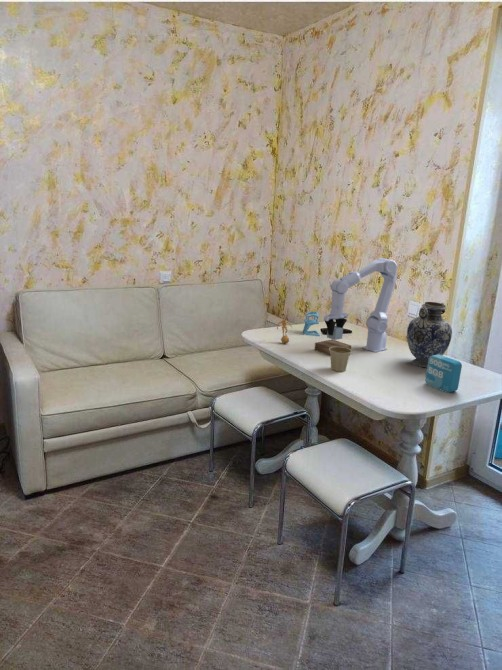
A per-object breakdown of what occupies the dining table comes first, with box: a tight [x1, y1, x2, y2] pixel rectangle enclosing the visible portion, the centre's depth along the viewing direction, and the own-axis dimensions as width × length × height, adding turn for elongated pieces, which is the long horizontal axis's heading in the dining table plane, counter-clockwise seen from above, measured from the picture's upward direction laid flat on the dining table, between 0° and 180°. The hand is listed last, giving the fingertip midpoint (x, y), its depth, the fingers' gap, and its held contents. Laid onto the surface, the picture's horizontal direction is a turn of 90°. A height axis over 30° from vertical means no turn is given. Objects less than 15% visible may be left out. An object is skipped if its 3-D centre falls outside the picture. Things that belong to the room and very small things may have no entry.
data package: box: [425, 355, 463, 393], centre depth 186 cm, size 12×4×12 cm, turn 30°
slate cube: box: [326, 325, 344, 341], centre depth 225 cm, size 5×5×5 cm
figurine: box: [276, 318, 293, 344], centre depth 236 cm, size 8×6×12 cm
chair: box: [301, 311, 320, 337], centre depth 256 cm, size 8×8×12 cm
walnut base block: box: [314, 339, 352, 356], centre depth 227 cm, size 12×12×4 cm
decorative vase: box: [406, 301, 453, 369], centre depth 212 cm, size 21×19×28 cm
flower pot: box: [329, 347, 353, 372], centre depth 201 cm, size 9×9×9 cm
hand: (334, 334), depth 226 cm, fingers closed on slate cube, 5 cm apart
